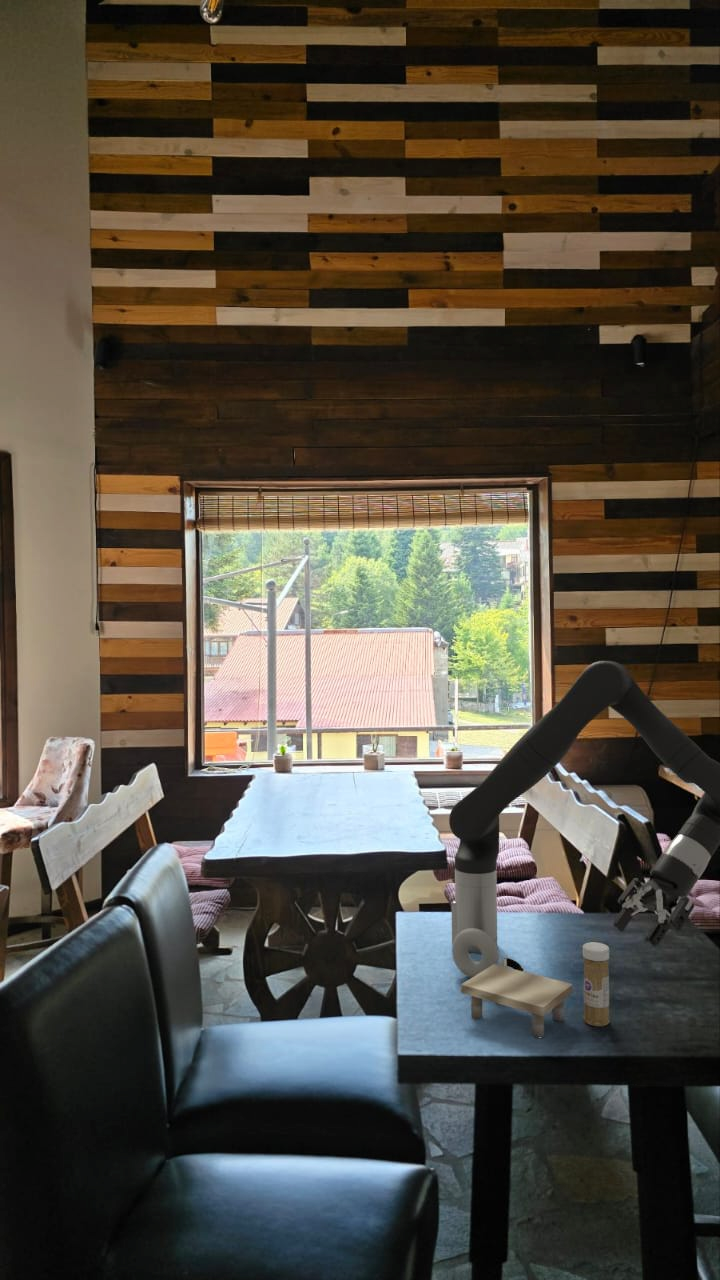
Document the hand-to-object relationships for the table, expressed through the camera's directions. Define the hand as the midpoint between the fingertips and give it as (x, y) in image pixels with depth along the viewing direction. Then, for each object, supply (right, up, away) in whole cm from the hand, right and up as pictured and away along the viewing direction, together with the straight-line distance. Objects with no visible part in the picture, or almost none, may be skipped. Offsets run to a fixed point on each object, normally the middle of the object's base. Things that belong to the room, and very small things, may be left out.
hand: (633, 936), depth 151 cm
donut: (-26, -15, +16) cm, 34 cm away
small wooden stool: (-21, -14, -2) cm, 26 cm away
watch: (-19, -15, +18) cm, 30 cm away
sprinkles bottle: (-8, -14, -3) cm, 16 cm away
